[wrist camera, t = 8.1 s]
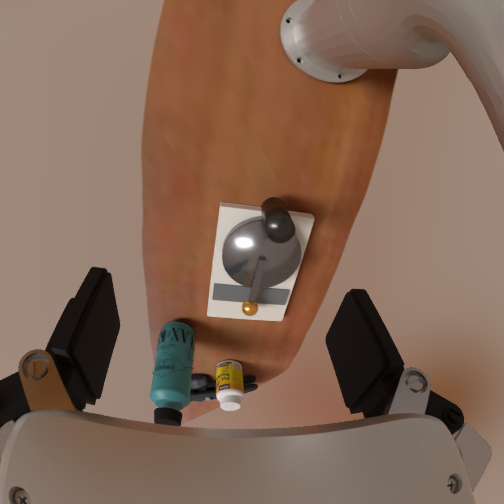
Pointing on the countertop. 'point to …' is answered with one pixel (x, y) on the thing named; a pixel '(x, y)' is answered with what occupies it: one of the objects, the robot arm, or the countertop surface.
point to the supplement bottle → (229, 385)
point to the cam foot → (262, 251)
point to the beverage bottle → (172, 373)
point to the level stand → (233, 294)
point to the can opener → (213, 387)
